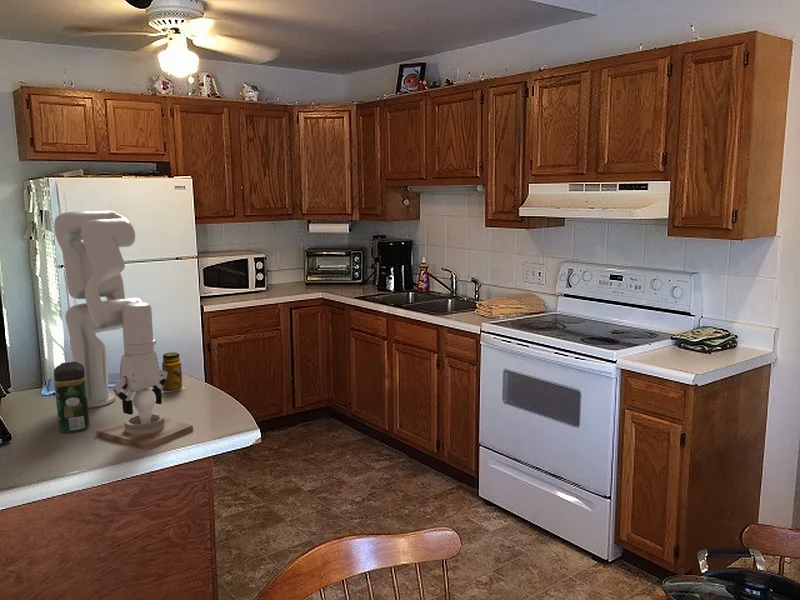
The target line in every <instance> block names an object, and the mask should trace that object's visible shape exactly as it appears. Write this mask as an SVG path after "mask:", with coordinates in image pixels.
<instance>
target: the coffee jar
mask: <svg viewBox="0 0 800 600" xmlns="http://www.w3.org/2000/svg"><path fill="white" fill-rule="evenodd" d="M53 381H54V392H55V393H54V394H55V403H56V411H57V419H58V428H59V430H60V432H62V433H76V432H78V433H79V432H80V431H83V430H86V429H88V428H89V425H90V414H89V412H90V411H89V408H88V402H87V391H86V380H85V371H84V366H83V365H82V364H80V363H77V362H73V361H68V362H60V364H58V366H56V367H55V368H54V370H53Z"/></svg>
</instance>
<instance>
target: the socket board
mask: <svg viewBox="0 0 800 600" xmlns="http://www.w3.org/2000/svg"><path fill="white" fill-rule="evenodd" d="M193 426H194V425H193V424H189V423H187V422H186V423H185V422H181V421H178V420H173V419H169V418H166V417H164V415H163V414H160V413H156V412H152V417H151V423H147V424H141V419H140V417H139V413H138V414H134V415H130V416H129V417H127V418H125V420H121V421H119V422H116V423H114V424H113V423H112V424H111V425H108V426H105V427H101V428H100V429H99V428H98V429H97V430H95V435H96V437H99V438H104V439H106V438H107V439H106V440H109V441H114V442H118V443H121V444H124V445H129V446H132V447H135V448H139V449H142V450H149V449H151V448H154V447H156V446H158V445H161V444H163V443H166V442H168V441H170V440H173V439H175V438H178V437H181V436H182V435H185V434H187V433H190V432H192V431H193V430H194V427H193Z"/></svg>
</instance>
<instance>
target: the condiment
mask: <svg viewBox="0 0 800 600" xmlns="http://www.w3.org/2000/svg"><path fill="white" fill-rule="evenodd" d="M161 367H162V369H161V370H163V371H166V372H168V374H167V377H166V379H165V380H166V382H165V384H164V385H163V389H162V390H161V394H164V393H169V392H170V393H171V392H176V391H183V390H187V388H186V387H185V386H184V385H183V373H182V361H181V360H180V353H179V352H177V351H176V352H174V351H173V352H171V351H170V352H166V353H164V354H162V363H161Z"/></svg>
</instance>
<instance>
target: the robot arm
mask: <svg viewBox="0 0 800 600" xmlns="http://www.w3.org/2000/svg"><path fill="white" fill-rule="evenodd" d="M53 225H54V226H53V229H54V230H53V231H54V235H55V238H56V241H57V243H58V246H59V247H60V250H61V252H62V255H63V264H64V271H65V280H66V285H67V286H66V287H67V293H68V294H69V296H70V297H71V298H73V299H75V300H85V302H84V303H79V304H75V305H73V306H70V307H69V308H68V309H67V310H66V312H65V323H66V327H67V331H68V335H69V338H70V345H71V356H72V362H77V363H80V364H82V365H83V366H84V371H85V380H86V391H87V402H88V409H91V408H100V407H103V406H107V405H110V404H111V403H113V402H114V401H115V399H116V397H117V398H119V400H121V402H122V403H121V404H122V406H121V407H122V412H123V414H126V415H130V416H132V415H133V414H134V410H133V409H134V408H133V407H134V405H133V401H132V398H133V395H134V394H135V392H137V391H140V390H143V389H146V388H147V389H150V388H151V390H152V391H153V392H154V393H155V395H156V402H155V404H156V405H162V404H163V402H162V401H163V400H162V399H163V398H162V393H161V390H162V389H163V385H164V384H165V382H166V380H165V379H166V377H167V374H168V372H166V371H163V370H162V369H160V364H159V359H158V356H157V355H158V354H157V352H156V350H155V346H156V344H157V342H156V340H155V339H154V331H153V329H154V327H153V326H154V325H153V313H152V312H153V311H152V306H151V305H150V304H149V303H147V302H144V301H143V300H142V299H141V298H140V297H128V298H126V293H125V287H124V279H123V276H122V274H121V273H122V272H123V271H124V269H125V267H126V264H125V260H124V258H123V255H122V253H121V250H120V248H128V247H131V246H133V245H134V243H135V240H136V231H135V229H134V226H133V224H132V223H131V221H129V219H127V218H126V217H124V216H123V215H121V214H119V213H117V212H115V211H113V210H82V211H79V210H78V211H77V210H76V211H75V210H74V211H69V212H62V213H60V214H58V215H57V216H56V217H55V219H54V223H53ZM104 297H105V298H106V300H102V299H101V298H104ZM120 329H122V336H123V349H124V351H123V352H124V353H123V354H122V355H121V359H120V366H119V380H118V382H117V383H115V385H113V386H112V390H113V392H114V394H115V395H114V394H113V393H110V389H109V376H108V375H109V373H108V363H107V351H106V350H107V349H106V345H105V344H104V342H103V341H102V340H101V339H100V338H99V337H98V336H97V334H98V333H99V334H101V333H102V332H110V331H117V330H120Z"/></svg>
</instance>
